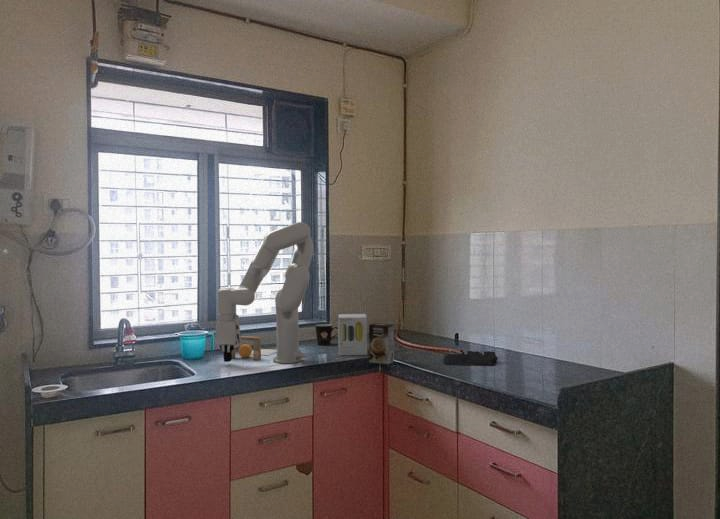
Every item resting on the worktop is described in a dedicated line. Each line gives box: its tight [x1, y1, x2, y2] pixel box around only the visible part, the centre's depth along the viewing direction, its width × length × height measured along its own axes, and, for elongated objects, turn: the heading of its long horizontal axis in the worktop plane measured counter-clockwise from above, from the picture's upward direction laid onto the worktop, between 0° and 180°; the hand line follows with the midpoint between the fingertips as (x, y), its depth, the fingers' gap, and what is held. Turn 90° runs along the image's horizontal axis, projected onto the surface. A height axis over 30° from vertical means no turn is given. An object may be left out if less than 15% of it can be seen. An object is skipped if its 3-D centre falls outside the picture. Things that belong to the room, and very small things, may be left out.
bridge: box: [232, 335, 262, 361], centre depth 231 cm, size 3×15×10 cm, turn 71°
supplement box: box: [337, 313, 368, 356], centre depth 242 cm, size 13×13×18 cm
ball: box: [238, 343, 253, 359], centre depth 234 cm, size 6×6×6 cm
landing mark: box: [250, 348, 277, 356], centre depth 246 cm, size 13×13×1 cm
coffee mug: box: [314, 323, 338, 347], centre depth 265 cm, size 12×9×10 cm
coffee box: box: [368, 322, 395, 365], centre depth 220 cm, size 9×6×16 cm
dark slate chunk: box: [443, 350, 499, 367], centre depth 218 cm, size 15×22×5 cm
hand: (227, 361), depth 219 cm, fingers closed
